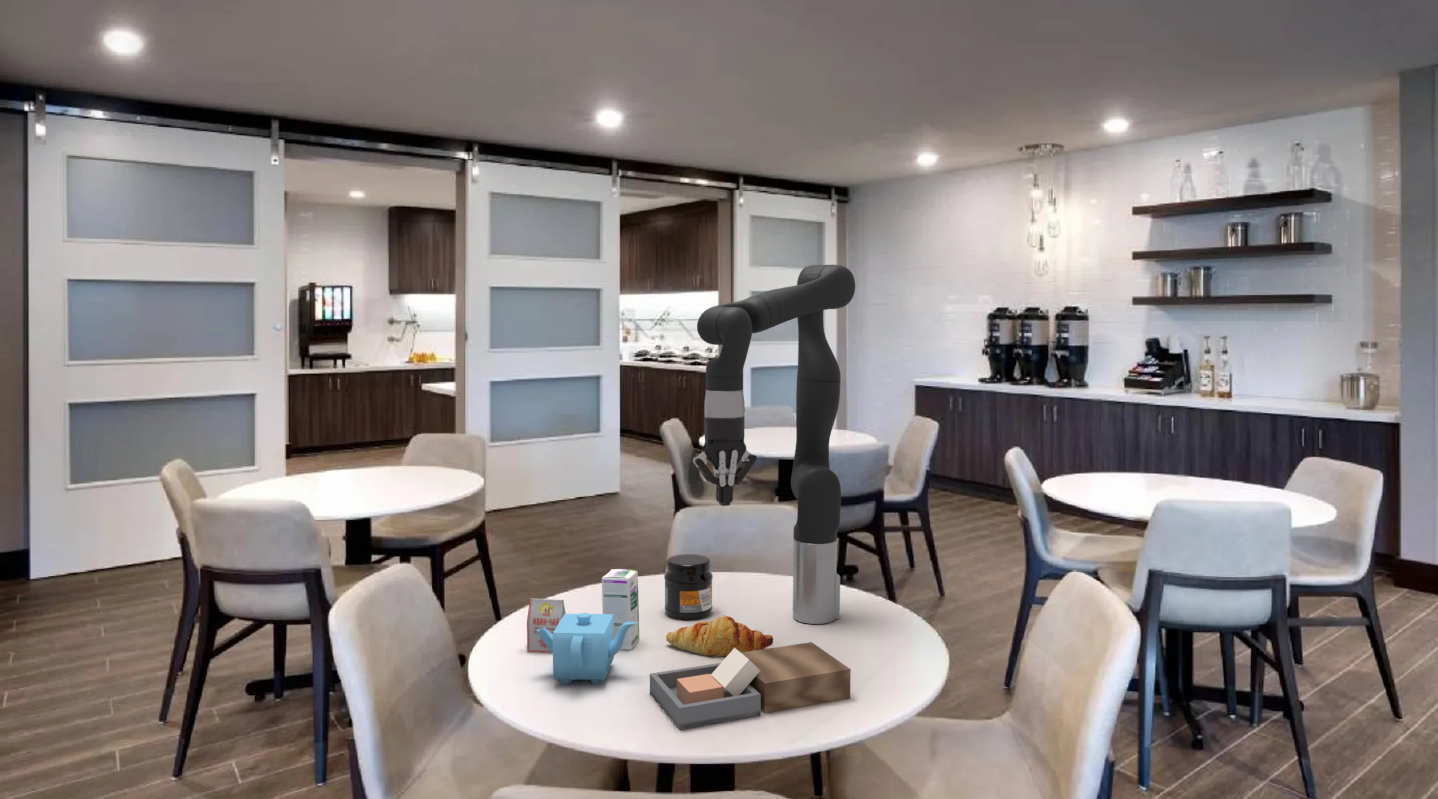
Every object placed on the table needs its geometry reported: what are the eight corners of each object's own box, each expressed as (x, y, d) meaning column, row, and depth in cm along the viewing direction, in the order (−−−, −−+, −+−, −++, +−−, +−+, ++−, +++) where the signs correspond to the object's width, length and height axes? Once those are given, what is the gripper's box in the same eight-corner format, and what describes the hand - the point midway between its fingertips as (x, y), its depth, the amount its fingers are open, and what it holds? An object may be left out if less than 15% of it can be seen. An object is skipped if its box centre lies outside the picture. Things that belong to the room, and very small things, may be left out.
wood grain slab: (811, 668, 168) (811, 642, 167) (850, 697, 155) (850, 669, 154) (731, 681, 162) (731, 654, 161) (764, 713, 149) (765, 683, 148)
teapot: (547, 659, 172) (546, 600, 171) (642, 660, 172) (642, 601, 171) (527, 693, 156) (526, 629, 155) (632, 694, 156) (631, 630, 155)
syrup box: (631, 650, 176) (630, 577, 175) (602, 648, 178) (601, 575, 176) (639, 640, 182) (639, 569, 181) (611, 638, 183) (610, 567, 182)
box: (725, 681, 162) (725, 662, 161) (760, 715, 148) (760, 694, 148) (649, 693, 156) (649, 673, 156) (679, 729, 143) (679, 708, 142)
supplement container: (715, 620, 194) (715, 565, 193) (666, 622, 193) (666, 567, 192) (709, 604, 205) (709, 552, 204) (662, 606, 203) (662, 554, 202)
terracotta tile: (676, 679, 153) (676, 696, 153) (689, 692, 148) (689, 710, 148) (709, 673, 155) (709, 690, 156) (723, 686, 150) (723, 704, 150)
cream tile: (745, 658, 157) (734, 647, 156) (760, 670, 151) (749, 659, 150) (722, 685, 155) (710, 674, 154) (736, 698, 150) (724, 687, 149)
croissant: (663, 668, 177) (658, 640, 172) (671, 629, 185) (667, 601, 181) (772, 672, 174) (770, 643, 170) (775, 632, 182) (773, 603, 178)
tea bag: (534, 645, 180) (533, 595, 179) (567, 647, 179) (566, 597, 178) (527, 651, 176) (526, 601, 175) (560, 653, 175) (560, 603, 174)
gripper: (748, 410, 177) (748, 498, 178) (684, 413, 172) (684, 504, 173) (765, 414, 170) (764, 506, 172) (698, 417, 165) (699, 511, 167)
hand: (724, 504), depth 173 cm, fingers closed
